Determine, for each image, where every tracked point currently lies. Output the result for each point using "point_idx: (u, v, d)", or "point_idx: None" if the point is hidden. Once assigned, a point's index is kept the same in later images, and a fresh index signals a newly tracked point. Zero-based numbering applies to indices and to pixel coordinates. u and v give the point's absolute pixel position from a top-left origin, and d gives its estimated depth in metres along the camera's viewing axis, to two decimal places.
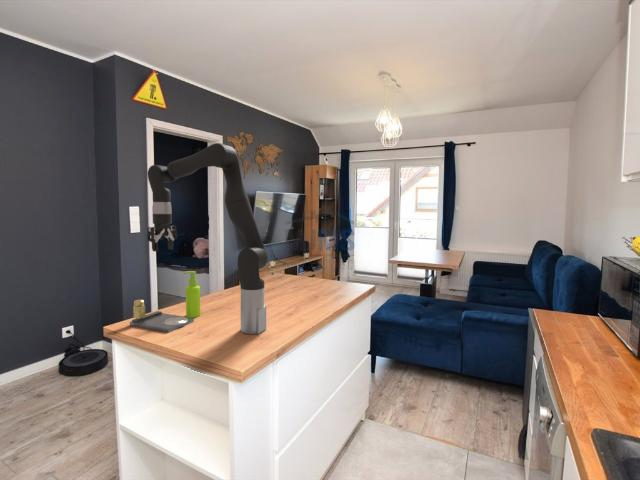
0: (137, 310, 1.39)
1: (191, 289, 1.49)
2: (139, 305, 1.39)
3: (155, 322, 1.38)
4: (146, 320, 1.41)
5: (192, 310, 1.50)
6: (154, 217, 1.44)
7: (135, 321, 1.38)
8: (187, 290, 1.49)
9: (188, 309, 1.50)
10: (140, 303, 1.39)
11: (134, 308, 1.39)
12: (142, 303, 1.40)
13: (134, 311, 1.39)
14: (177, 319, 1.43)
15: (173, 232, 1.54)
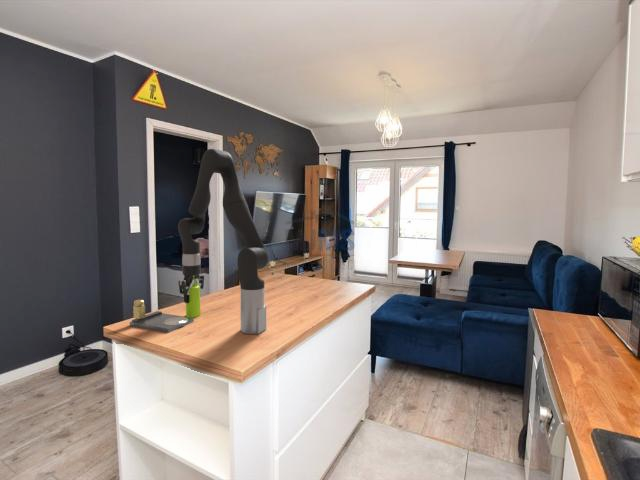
0: (137, 310, 1.39)
1: (191, 289, 1.49)
2: (139, 305, 1.39)
3: (155, 322, 1.38)
4: (146, 320, 1.41)
5: (192, 310, 1.50)
6: (184, 269, 1.48)
7: (135, 321, 1.38)
8: None
9: (188, 309, 1.50)
10: (140, 303, 1.39)
11: (134, 308, 1.39)
12: (142, 303, 1.40)
13: (134, 311, 1.39)
14: (177, 319, 1.43)
15: (200, 282, 1.56)
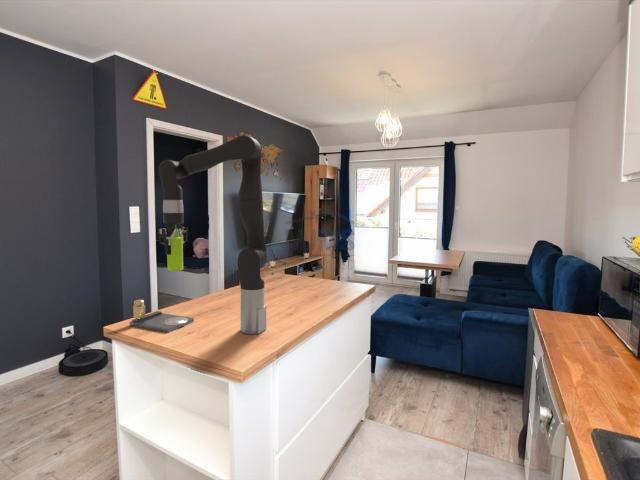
0: (137, 310, 1.39)
1: (172, 239, 1.34)
2: (139, 305, 1.39)
3: (155, 322, 1.38)
4: (146, 320, 1.41)
5: (173, 262, 1.35)
6: (165, 216, 1.33)
7: (135, 321, 1.38)
8: None
9: (169, 262, 1.36)
10: (140, 303, 1.39)
11: (134, 308, 1.39)
12: (142, 303, 1.40)
13: (134, 311, 1.39)
14: (177, 319, 1.43)
15: (184, 234, 1.42)
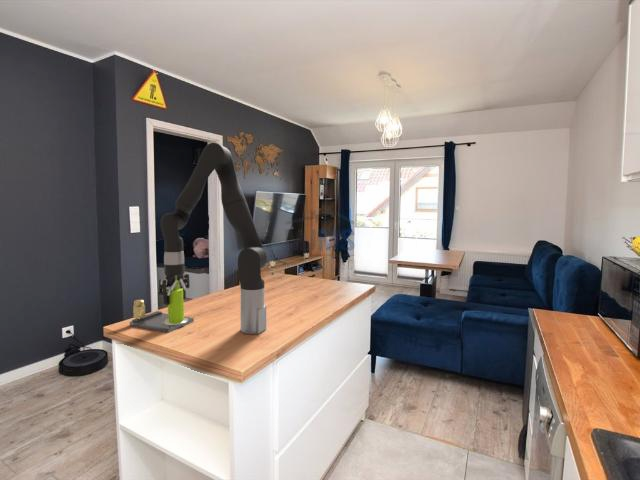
0: (137, 310, 1.39)
1: (173, 292, 1.36)
2: (139, 305, 1.39)
3: (155, 322, 1.38)
4: (146, 320, 1.41)
5: (174, 315, 1.37)
6: (166, 268, 1.35)
7: (135, 321, 1.38)
8: None
9: (170, 314, 1.37)
10: (140, 303, 1.39)
11: (134, 308, 1.39)
12: (142, 303, 1.40)
13: (134, 311, 1.39)
14: None
15: (185, 281, 1.45)
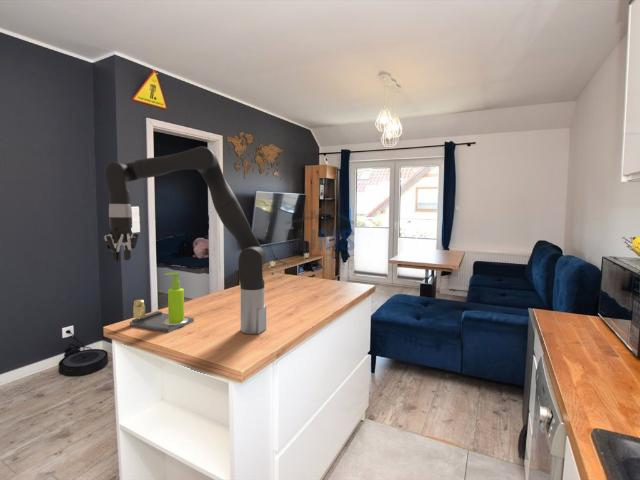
0: (137, 310, 1.39)
1: (174, 292, 1.37)
2: (139, 305, 1.39)
3: (155, 322, 1.38)
4: (146, 320, 1.41)
5: (174, 315, 1.37)
6: (111, 221, 1.27)
7: (135, 321, 1.38)
8: (169, 293, 1.37)
9: (170, 314, 1.38)
10: (140, 303, 1.39)
11: (134, 308, 1.39)
12: (142, 303, 1.40)
13: (134, 311, 1.39)
14: None
15: (133, 240, 1.35)
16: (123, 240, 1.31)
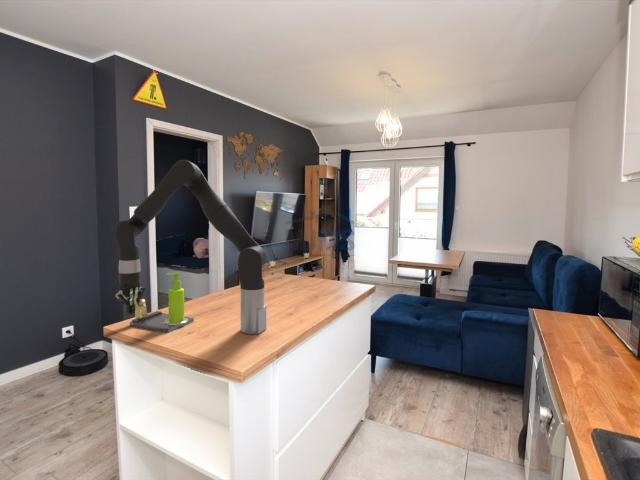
0: (139, 310, 1.40)
1: (174, 292, 1.37)
2: (141, 305, 1.39)
3: (155, 322, 1.38)
4: (146, 320, 1.41)
5: (175, 315, 1.37)
6: (120, 277, 1.32)
7: (135, 321, 1.38)
8: (170, 293, 1.37)
9: (171, 314, 1.38)
10: (142, 303, 1.40)
11: (136, 307, 1.40)
12: (143, 303, 1.40)
13: (136, 311, 1.40)
14: None
15: (139, 293, 1.39)
16: None
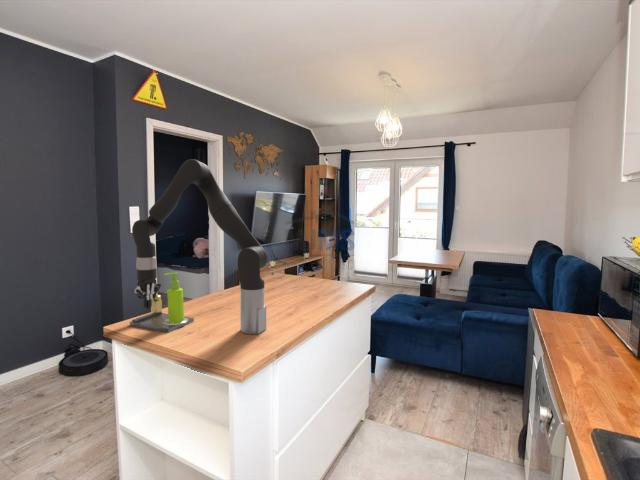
0: (155, 304, 1.47)
1: (173, 292, 1.36)
2: (156, 300, 1.47)
3: (155, 322, 1.38)
4: (146, 320, 1.41)
5: (174, 315, 1.37)
6: (138, 273, 1.40)
7: (135, 321, 1.38)
8: (169, 293, 1.37)
9: (170, 314, 1.37)
10: (157, 298, 1.47)
11: (152, 302, 1.48)
12: (159, 298, 1.48)
13: (152, 305, 1.48)
14: None
15: (155, 289, 1.47)
16: (149, 289, 1.43)
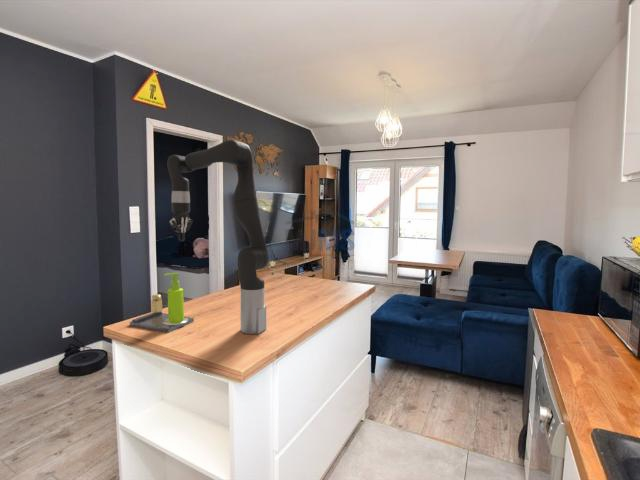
0: (155, 304, 1.47)
1: (173, 292, 1.36)
2: (157, 300, 1.47)
3: (155, 322, 1.38)
4: (146, 320, 1.41)
5: (175, 315, 1.37)
6: (173, 206, 1.48)
7: (135, 321, 1.38)
8: (169, 293, 1.37)
9: (171, 314, 1.37)
10: (158, 298, 1.47)
11: (152, 302, 1.48)
12: (159, 298, 1.48)
13: (152, 305, 1.48)
14: None
15: (187, 224, 1.55)
16: (183, 223, 1.51)
